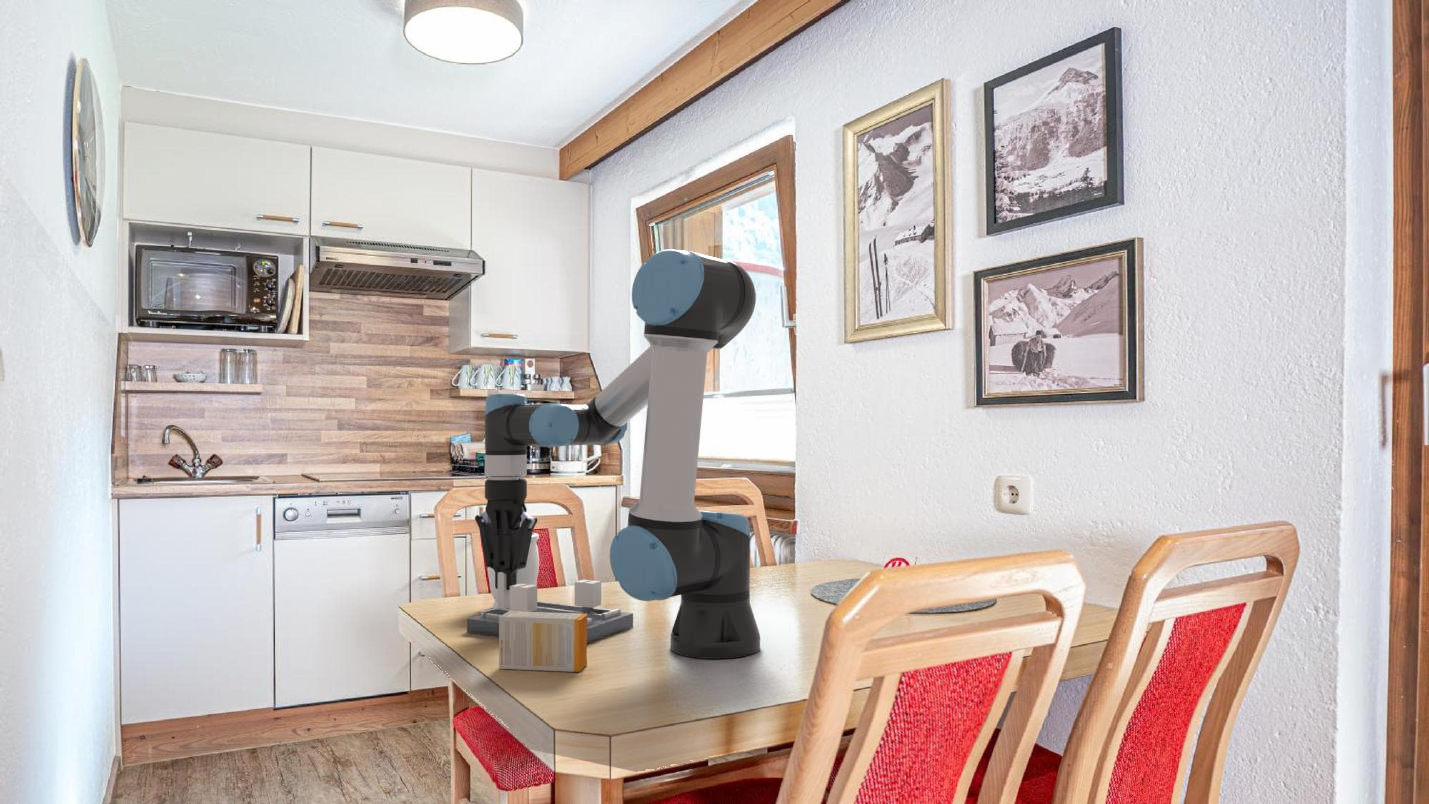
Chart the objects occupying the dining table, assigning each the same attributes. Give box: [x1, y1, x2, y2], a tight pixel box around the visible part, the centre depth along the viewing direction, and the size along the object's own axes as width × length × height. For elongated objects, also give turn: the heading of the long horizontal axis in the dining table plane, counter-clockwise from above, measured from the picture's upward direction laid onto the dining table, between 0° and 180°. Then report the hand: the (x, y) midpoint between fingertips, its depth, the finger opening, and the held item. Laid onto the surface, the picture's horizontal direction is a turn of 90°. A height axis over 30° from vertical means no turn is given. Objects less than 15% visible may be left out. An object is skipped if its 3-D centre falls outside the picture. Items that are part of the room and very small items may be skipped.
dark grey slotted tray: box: [466, 600, 634, 644], centre depth 171 cm, size 24×18×4 cm
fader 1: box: [510, 584, 538, 612], centre depth 168 cm, size 4×3×6 cm
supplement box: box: [498, 611, 588, 673], centre depth 145 cm, size 8×5×13 cm
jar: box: [486, 532, 540, 609], centre depth 191 cm, size 11×10×15 cm
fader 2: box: [574, 579, 602, 613], centre depth 173 cm, size 4×3×6 cm
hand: (505, 607), depth 170 cm, fingers closed
